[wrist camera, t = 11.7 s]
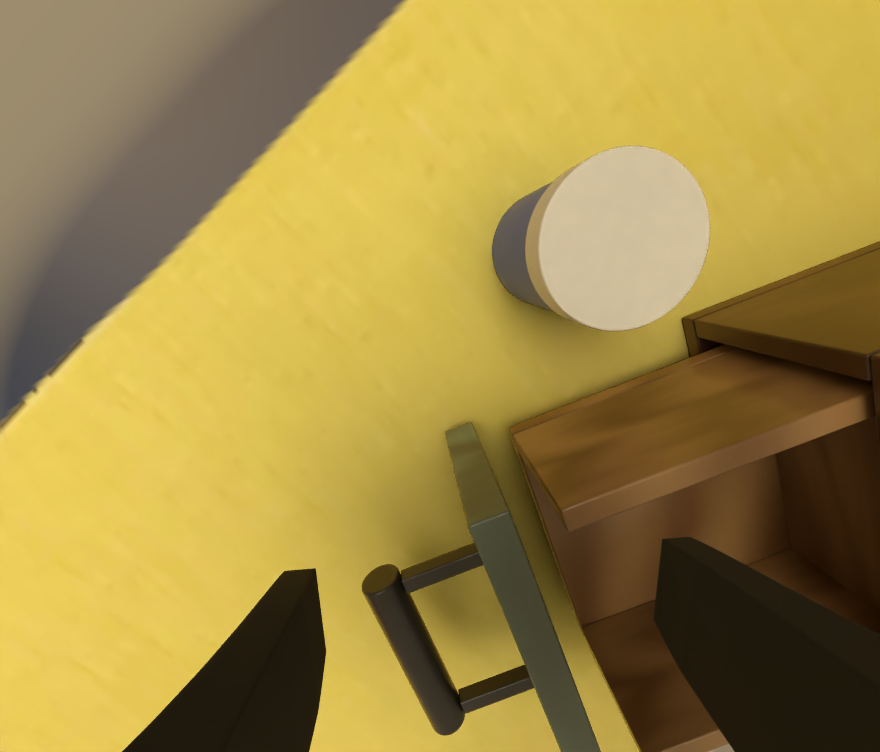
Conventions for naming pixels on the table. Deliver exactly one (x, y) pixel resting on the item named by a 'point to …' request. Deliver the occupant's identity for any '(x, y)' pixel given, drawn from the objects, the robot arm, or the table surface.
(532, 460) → the drawer
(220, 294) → the table surface
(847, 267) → the cabinet
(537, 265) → the medicine bottle
